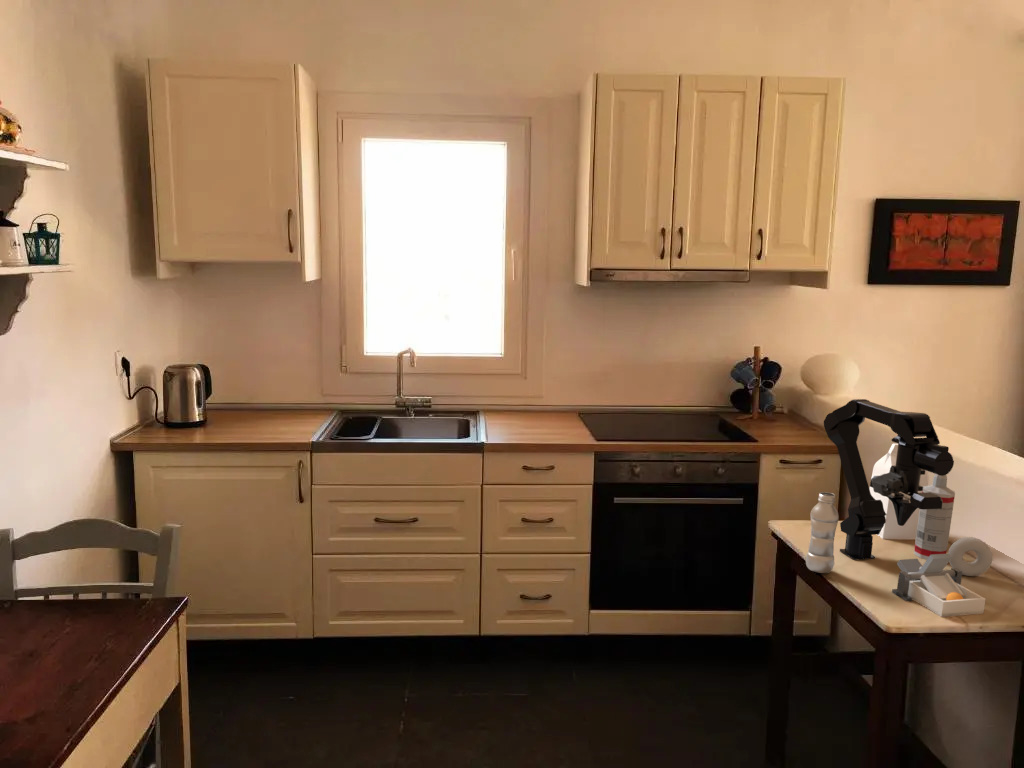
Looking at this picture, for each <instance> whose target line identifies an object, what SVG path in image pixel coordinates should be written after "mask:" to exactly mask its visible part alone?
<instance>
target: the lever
mask: <svg viewBox="0 0 1024 768" xmlns="http://www.w3.org/2000/svg"><path fill="white" fill-rule="evenodd" d="M951 558H952V557H951V556H950V554H948V553H947V554H933V555H930V556H929V558H928V559H927V560H926V559H925V562H923V564H922V562H920V561H919V559H918V558H905V559H899V560H898V561H897V563H896V565H897V566H898V568H899V569H900V572H904V571H905V572H906V573H908V574H910V581H917V580H921V581H922V583H923V584H924V585H925V587H926V588H927V590H928V591H929V592H930V593H931V594H933V595H935V596H936V597H938V598H940V599H946V597H947V595H948V594H949V593H951V592H957V593H959V594H960V595H961V596H963V595H964V594H963V593H962V591H961V590H960V589H959V587H958V586H957V585H956V583H955V582H954V581H953V579H952V578H951V577H954V576H955V571H954V570H951V569H945V567H947V565H948V564H949V563H950V562H949V561H950V560H951ZM944 569H945V570H944Z"/></svg>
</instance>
